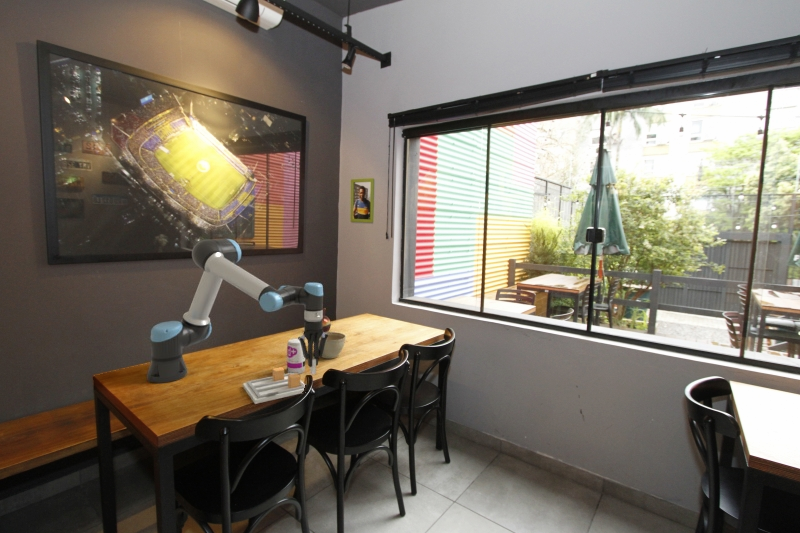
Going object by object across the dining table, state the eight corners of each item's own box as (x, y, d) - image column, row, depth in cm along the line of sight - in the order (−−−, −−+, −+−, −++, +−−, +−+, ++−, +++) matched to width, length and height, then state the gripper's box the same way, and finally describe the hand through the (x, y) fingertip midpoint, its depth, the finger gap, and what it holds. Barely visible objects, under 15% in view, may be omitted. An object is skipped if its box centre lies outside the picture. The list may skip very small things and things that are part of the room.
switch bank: (255, 404, 148) (255, 397, 148) (242, 386, 163) (242, 380, 162) (309, 391, 161) (309, 385, 160) (293, 376, 175) (293, 371, 175)
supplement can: (295, 376, 176) (296, 344, 174) (283, 372, 180) (283, 340, 178) (308, 371, 182) (309, 340, 181) (296, 367, 187) (296, 336, 185)
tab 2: (290, 389, 158) (291, 377, 158) (288, 386, 161) (288, 375, 161) (300, 387, 161) (300, 376, 160) (297, 384, 164) (297, 373, 163)
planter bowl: (351, 356, 205) (351, 336, 203) (326, 363, 193) (326, 342, 192) (332, 348, 216) (333, 329, 214) (307, 355, 204) (308, 335, 203)
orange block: (275, 382, 165) (275, 371, 164) (272, 379, 167) (272, 368, 167) (284, 380, 167) (284, 369, 166) (281, 377, 170) (281, 366, 169)
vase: (328, 334, 242) (329, 310, 240) (311, 333, 242) (311, 309, 240) (332, 329, 253) (332, 306, 251) (315, 328, 253) (315, 305, 251)
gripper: (302, 323, 156) (301, 379, 158) (331, 319, 163) (330, 373, 166) (295, 319, 162) (294, 373, 164) (324, 315, 169) (323, 367, 172)
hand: (312, 373), depth 165 cm, fingers closed
